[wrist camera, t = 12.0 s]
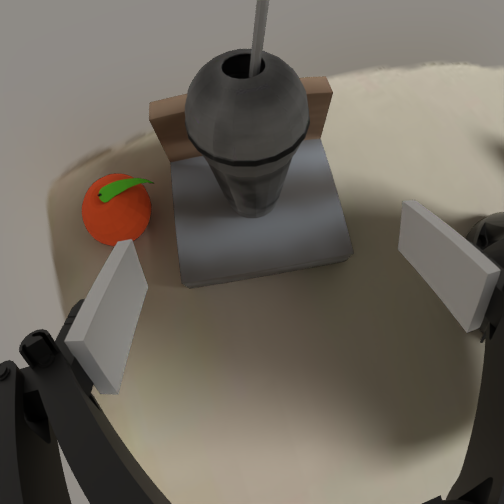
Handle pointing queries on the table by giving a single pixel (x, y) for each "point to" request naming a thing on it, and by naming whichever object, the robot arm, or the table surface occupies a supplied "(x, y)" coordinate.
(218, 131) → the beverage cup
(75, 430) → the robot arm
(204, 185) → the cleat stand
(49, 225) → the table surface
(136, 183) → the clementine
